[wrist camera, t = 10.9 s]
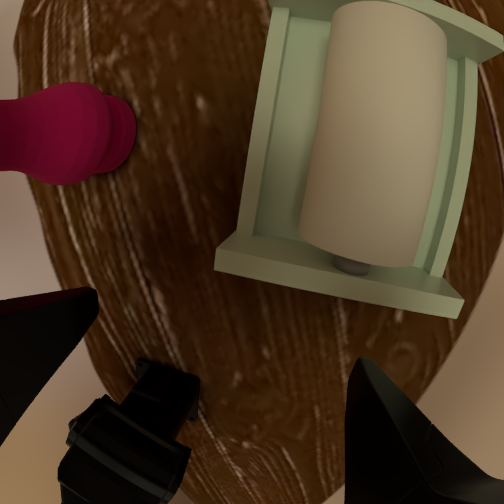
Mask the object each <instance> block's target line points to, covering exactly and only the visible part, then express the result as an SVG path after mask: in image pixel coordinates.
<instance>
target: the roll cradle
mask: <svg viewBox="0 0 504 504" xmlns="http://www.w3.org/2000/svg"><path fill="white" fill-rule="evenodd" d="M360 1H381V2H389V3H393V4H398V5H401V6H405V7H407V8H410V9H413V10H415V11H417V12H419V13H421V14H423V15H425V16H426V17H428V18H430V19H431V20H432V21H434V22H435V23H436V24H437V25H438V26H439V27H440V28H441V29H442V30H443V32H444V34H445V36H446V38H447V78H446V96H445V108H444V119H443V128H442V136H441V143H440V150H439V156H438V162H437V168H436V174H435V179H434V184H433V189H432V194H431V198H430V203H429V207H428V211H427V215H426V219H425V223H424V227H423V231H422V235H421V238H420V242H419V246H418V249H417V252H416V256H415V259H414V262H413V264H412V265H411V266H408V267H399V268H398V267H384V266H378V265H372V264H367V263H363V262H359V261H355V260H352V259H348V258H345V257H342V256H339V255H336V254H333V253H330V252H328V251H325V250H323V249H321V248H318V247H316V246H314V245H312V244H310V243H309V242H307V241H306V240H304V239H303V238H302V237H301V236H300V235H299V234H298V226H299V221H300V216H301V211H302V206H303V201H304V195H305V190H306V185H307V179H308V174H309V168H310V162H311V157H312V151H313V145H314V139H315V133H316V127H317V121H318V115H319V108H320V102H321V95H322V88H323V82H324V75H325V67H326V60H327V53H328V45H329V37H330V29H331V20H332V15H333V13H334V12H335V11H336V10H337V9H338V8H340V7H342V6H344V5H346V4H349V3H353V2H360ZM268 2H269V5H270V8H271V12H272V16H271V22H270V27H269V33H268V38H267V44H266V49H265V55H264V61H263V66H262V72H261V78H260V84H259V90H258V96H257V102H256V108H255V114H254V120H253V126H252V132H251V138H250V145H249V151H248V157H247V164H246V170H245V177H244V183H243V190H242V196H241V203H240V210H239V217H238V223H237V230H236V231H234V232H233V233H232V234H231V235H230V236H229V237H228V238H227V239H226V240H225V241H224V242H222V243H221V244H220V245H219V246H218V247H217V248H216V256H215V264H214V270H217V271H221V272H225V273H230V274H234V275H239V276H243V277H247V278H252V279H256V280H261V281H266V282H270V283H275V284H279V285H284V286H289V287H293V288H298V289H303V290H308V291H312V292H317V293H322V294H327V295H332V296H337V297H342V298H347V299H352V300H357V301H362V302H367V303H372V304H377V305H382V306H388V307H393V308H398V309H404V310H409V311H414V312H420V313H426V314H431V315H437V316H442V317H448V318H454V319H457V317H458V315H459V312H460V310H461V308H462V305H463V303H464V299H463V298H462V297H461V296H460V295H459V294H458V293H457V292H456V290H455V289H454V288H453V287H452V286H451V285H450V284H449V283H448V282H447V281H446V280H445V279H444V278H443V277H442V275H443V273H444V270H445V267H446V263H447V260H448V257H449V254H450V251H451V247H452V244H453V240H454V237H455V233H456V230H457V226H458V222H459V218H460V214H461V210H462V205H463V201H464V196H465V191H466V186H467V181H468V175H469V170H470V163H471V157H472V149H473V142H474V133H475V122H476V108H477V81H478V70H477V65H478V64H480V63H482V62H484V61H486V60H488V59H490V58H492V57H494V56H496V55H498V54H500V53H502V52H504V42H503V35H501V34H500V33H498V32H496V31H495V30H493V29H491V28H489V27H488V26H486V25H484V24H482V23H480V22H478V21H476V20H475V19H473V18H471V17H469V16H467V15H465V14H462V13H460V12H458V11H456V10H454V9H452V8H449V7H447V6H445V5H443V4H440V3H438V2H435V1H433V0H268Z"/></svg>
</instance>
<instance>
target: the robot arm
mask: <svg viewBox="0 0 504 504" xmlns="http://www.w3.org/2000/svg"><path fill="white" fill-rule="evenodd" d="M98 313H99V304H98V293H97V291H96V290H95V289H93V288H90V287H80V288H74V289H68V290H62V291H55V292H49V293H43V294H36V295H30V296H24V297H17V298H11V299H6V300H0V446H1V445H2V444H3V442H4V441H5V439H6V438H7V436H8V435H9V433H10V432H11V430H12V429H13V428H14V426H15V425H16V423H17V422H18V420H19V419H20V418H21V416H22V415H23V413H24V412H25V411H26V409H27V408H28V406H29V405H30V404H31V403H32V401H33V400H34V399H35V397H36V396H37V395H38V393H39V392H40V391H41V390H42V388H43V387H44V386H45V384H46V383H47V382H48V381H49V379H50V378H51V377H52V376H53V374H54V373H55V372H56V371H57V369H58V368H59V367H60V366H61V364H62V363H63V362H64V361H65V359H66V358H67V357H68V356H69V354H70V353H71V352H72V351H73V350H74V349H75V347H76V346H77V345H78V343H79V342H80V341H81V339H82V338H83V336H84V335H85V333H86V332H87V330H88V329H89V327H90V326H91V324H92V323H93V322H94V320H95V319H96V317H97V316H98ZM135 363H136V373H137V383H136V384H135V386H134V387H133V388H132V390H131V392H130V393H129V394H128V395H127V397H126V398H125V399H124V401H123V402H122V403H121V405H119V404H117V403H116V402H115V401H113V400H112V399H110V398H111V397H109V396H108V395H107V394H105V395H104V396H103V397H102V398H101V399H100V398H99V399H95V400H94V402H93V403H92V404H91V405H90V406H89V407H88V408H87V409H86V410H85V411H84V412H82V413H81V414H80V415H78V416H76V417H75V418H74V419H72V420H71V421H70V422H69V424H68V425H69V430H70V432H69V434H68V437H67V440H66V444H67V445H68V446H69V447H70V448H69V450H68V451H67V453H66V454H65V456H64V457H63V459H62V460H61V462H60V465H59V467H58V481H59V482H60V487H61V498H62V503H61V504H167V503H168V502H169V501H170V500H171V499H172V498H173V496H174V495H175V493H176V491H177V490H178V488H179V486H180V484H181V482H182V479H183V476H184V473H185V470H186V467H187V463H188V460H189V457H190V454H191V451H192V449H191V448H189V447H187V446H186V447H185V446H184V445H182V444H180V443H178V442H176V441H175V439H176V437H177V435H178V433H179V431H180V429H181V427H182V425H183V423H184V421H185V419H186V420H189V421H193V422H195V421H196V420H197V417H198V400H199V385H200V381H199V379H198V378H197V377H195V376H191V375H188V374H185V373H182V372H179V371H176V370H173V369H170V368H167V367H164V366H161V365H158V364H155V363H153V362H150V361H147V360H144V359H142V358H138V359H137V361H136V362H135ZM193 381H194V382H193ZM344 504H504V480H500V479H496V478H493V477H491V476H489V475H487V474H486V473H485V472H483V470H481V469H480V468H479V467H478V466H477V465H476V464H475V463H473V462H472V461H471V460H470V459H469V458H468V457H466V456H465V455H464V454H463V453H462V452H461V451H460V450H458V449H457V448H456V447H455V446H454V445H453V444H452V443H451V442H450V441H449V440H448V439H447V438H446V437H445V436H444V435H443V434H442V433H441V432H440V431H439V430H438V429H437V428H436V427H435V426H434V424H431V421H430V420H429V419H428V418H427V417H426V416H425V415H424V414H423V413H422V412H421V411H420V410H419V409H418V408H417V406H416V405H415V404H414V403H413V402H412V401H411V400H410V399H409V398H408V397H407V396H406V395H405V394H404V393H403V392H402V391H401V390H400V388H399V387H398V386H397V385H396V384H395V383H394V382H393V381H392V380H391V379H390V378H389V377H388V376H387V375H386V374H385V373H384V372H383V371H382V370H381V369H380V367H379V366H378V365H377V364H376V363H375V362H374V361H373V360H372V359H370V358H364V357H359V358H358V359H357V360H356V363H355V365H354V367H353V370H352V372H351V374H350V376H349V380H348V387H347V400H346V412H345V500H344Z"/></svg>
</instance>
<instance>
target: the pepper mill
mask: <svg viewBox="0 0 504 504" xmlns="http://www.w3.org/2000/svg"><path fill="white" fill-rule="evenodd" d="M135 136H136V121H135V117H134V113H133V111H132V109H131V107H130V106H129V105H128V104H127V102H125V101H124V100H123V99H121V98H119V97H115V96H110V95H106V94H103V93H102V92H101V91H100V90H99V89H98V88H96V87H94V86H93V85H90V84H87V83H78V82H67V83H62V84H57V85H53V86H51V87H48V88H46V89H43V90H41V91H38V92H36V93H34V94H31V95H28V96H26V97H23V98H19V99H14V100H0V171H19V172H22V173H24V174H27V175H29V176H31V177H33V178H35V179H37V180H39V181H42V182H44V183H49V184H53V185H71V184H76V183H79V182H81V181H83V180H85V179H87V178H88V177H90V176H91V175H92V174H97V173H105V172H109V171H112V170H114V169H116V168H117V167H119V166H120V165H121V164H122V163H123V162H124V161H125V160H126V158H127V157H128V156H129V154H130V152H131V149H132V147H133V144H134V140H135Z"/></svg>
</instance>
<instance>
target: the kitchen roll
mask: <svg viewBox="0 0 504 504" xmlns="http://www.w3.org/2000/svg"><path fill="white" fill-rule="evenodd" d="M446 78H447V38H446V36H445V34H444V32H443V30H442V29H441V28H440V27H439V26H438V25H437V24H436V23H435V22H434V21H432V20H431V19H430V18H428V17H426V16H425V15H423V14H421V13H419V12H417V11H415V10H413V9H410V8H407V7H405V6H401V5H398V4H393V3H389V2H381V1H360V2H353V3H349V4H346V5H344V6H342V7H340V8H338V9H337V10H336V11H335V12H334V13H333V15H332V20H331V29H330V37H329V45H328V53H327V60H326V67H325V75H324V82H323V88H322V95H321V102H320V108H319V115H318V121H317V127H316V133H315V139H314V145H313V151H312V157H311V162H310V168H309V174H308V179H307V185H306V190H305V195H304V201H303V206H302V211H301V216H300V221H299V226H298V234H299V235H300V236H301V237H302V238H303V239H304V240H306V241H307V242H309V243H310V244H312V245H314V246H316V247H318V248H321V249H323V250H325V251H328V252H330V253H333V254H336V255H339V256H342V257H345V258H348V259H352V260H355V261H359V262H363V263H367V264H372V265H378V266H384V267H398V268H399V267H408V266H411V265H412V264H413V262H414V259H415V256H416V252H417V249H418V246H419V242H420V238H421V235H422V231H423V227H424V223H425V219H426V215H427V211H428V207H429V203H430V198H431V194H432V189H433V184H434V179H435V174H436V168H437V162H438V156H439V150H440V143H441V136H442V128H443V119H444V108H445V96H446Z"/></svg>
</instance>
